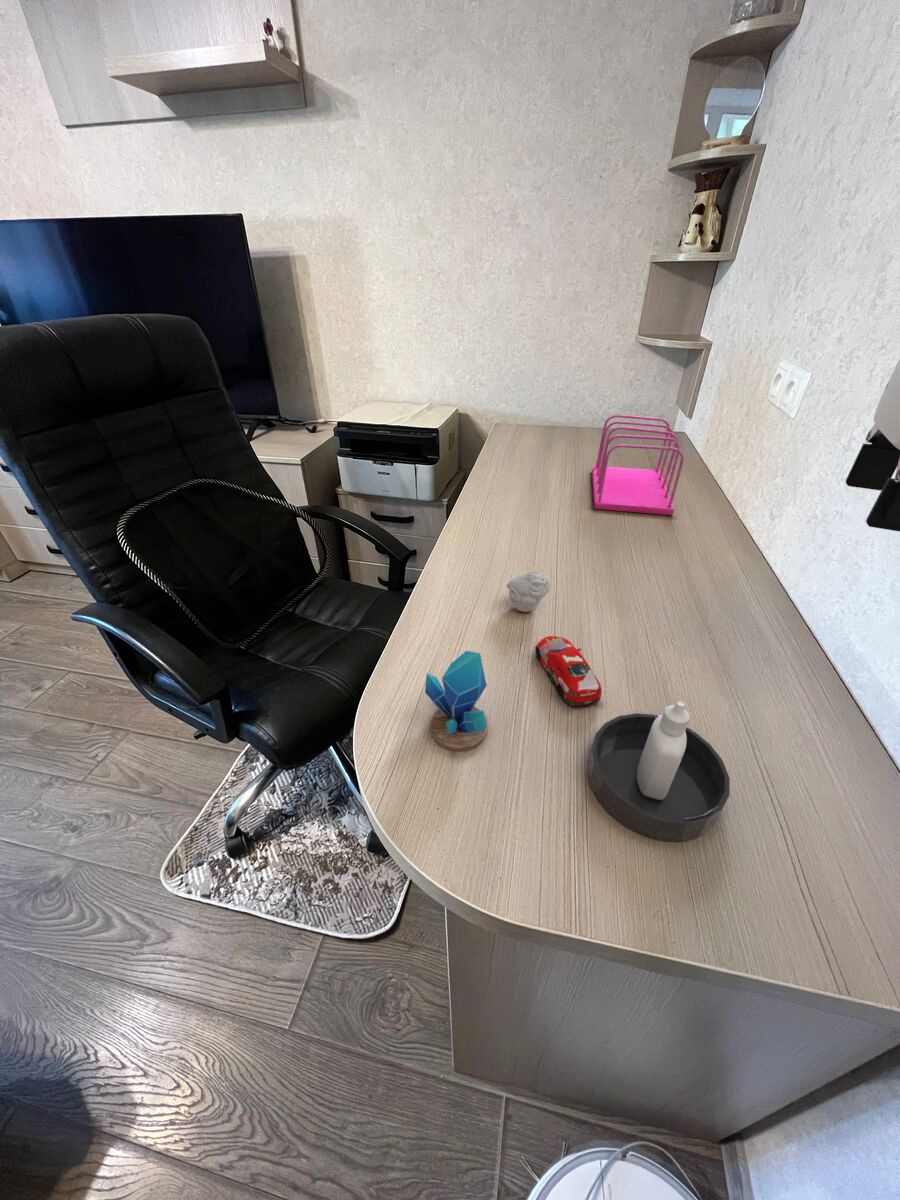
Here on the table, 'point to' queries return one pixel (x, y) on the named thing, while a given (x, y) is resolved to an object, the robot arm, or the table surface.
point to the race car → (568, 671)
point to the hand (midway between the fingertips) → (874, 506)
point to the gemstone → (458, 704)
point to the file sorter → (635, 474)
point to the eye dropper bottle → (663, 752)
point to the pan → (689, 796)
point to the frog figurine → (528, 590)
